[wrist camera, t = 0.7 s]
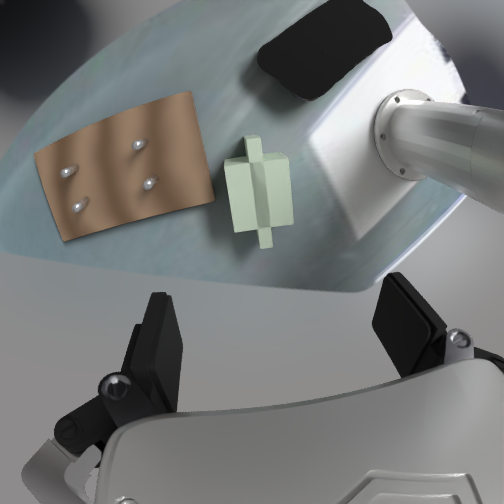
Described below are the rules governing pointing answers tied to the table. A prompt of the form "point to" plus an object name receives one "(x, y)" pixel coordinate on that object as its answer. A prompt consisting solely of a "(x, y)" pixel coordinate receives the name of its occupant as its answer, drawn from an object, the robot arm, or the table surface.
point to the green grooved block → (259, 191)
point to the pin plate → (127, 168)
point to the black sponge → (324, 46)
